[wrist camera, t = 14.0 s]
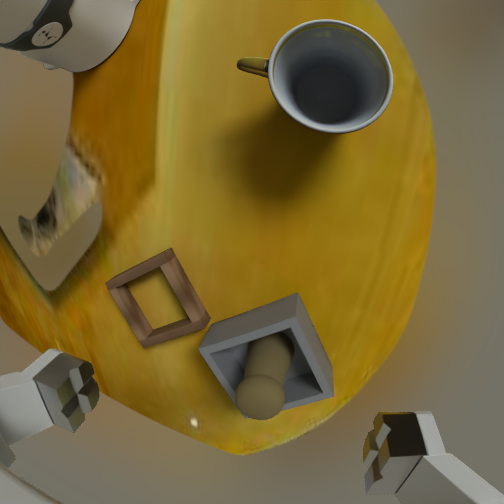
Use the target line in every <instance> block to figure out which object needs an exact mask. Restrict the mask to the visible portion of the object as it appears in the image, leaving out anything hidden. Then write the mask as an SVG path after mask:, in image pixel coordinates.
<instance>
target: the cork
mask: <svg viewBox="0 0 504 504" xmlns="http://www.w3.org/2000/svg"><path fill="white" fill-rule="evenodd" d="M294 351H295V348H294V344H293V342H292V341H291V339H290V338H289V337H288V336H287V335H285V334H284V333H282V332H276V333H273V334H270V335H267V336H264V337H261V338H258V339H255V340H252V341H249V342H248V349H247V358H246V368H245V378H244V380H242V381H241V382H240V384H239V385H238V387H237V389H236V392H235V403H236V405H237V407H238V409H239V410H240V411H241V413H242V414H244V415H245V416H247V417H249V418H252V419H257V420H266V419H270V418H272V417H274V416H275V415H277V414H278V413H279V412H280V411H281V409H282V408H283V406H284V402H285V393H284V389H283V384H284V382H285V379H286V376H287V373H288V371H289V368H290V365H291V362H292V359H293V356H294Z"/></svg>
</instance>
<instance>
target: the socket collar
mask: <svg viewBox="0 0 504 504" xmlns="http://www.w3.org/2000/svg"><path fill="white" fill-rule="evenodd" d="M157 267H161V269H162V271H163V272H164V274H165V276H166V278H167V280H168V281H169V283H170V285H171V287H172V289H173V290H174V292H175V294H176V296H177V297H178V299H179V301H180V303H181V304H182V306H183V308H184V309H185V311H186V313H187V315H188V316H189V317H188V318H185V319H182V320H180V321H177V322H174V323H171V324H168V325H166V326H163V327H160V328H157V329H154V330H153V329H152V327H151V326H150V324H149V322H148V321H147V319H146V317H145V316H144V314H143V313H142V311H141V309H140V307H139V306H138V304H137V302H136V301H135V299H134V297H133V296H132V294H131V292H130V290H129V289H128V287H127V285H126V283H127V282H129V281H131V280H133V279H135V278H137V277H139V276H141V275H143V274H145V273H147V272H149V271H151V270H153V269H155V268H157ZM105 284H106V286H107V288H108V290H109V291H110V293H111V295H112V297H113V298H114V300H115V302H116V304H117V305H118V307H119V309H120V310H121V312H122V314H123V315H124V317H125V319H126V320H127V322H128V324H129V325H130V327H131V328H132V330H133V332H134V333H135V335H136V336H137V338H138V339H139V341H140V342H141V344H142V346H143V347H144V348H145V347H149V346H152V345H155V344H158V343H161V342H164V341H167V340H170V339H173V338H177V337H180V336H183V335H186V334H189V333H192V332H195V331H198V330H200V329H203V328H205V327H206V325H207V324H208V322H209V320H210V319H211V318H210V316H209V315H208V313H207V311H206V309H205V308H204V306H203V304H202V302H201V301H200V299H199V297H198V295H197V294H196V292H195V290H194V288H193V286H192V285H191V283H190V281H189V279H188V277H187V276H186V274H185V272H184V270H183V268H182V266H181V265H180V263H179V261H178V259H177V257H176V255H175V253H174V251H173V250H172V248H169V249H167V250H165V251H163V252H161V253H159V254H157V255H155V256H153V257H151V258H150V259H148V260H146V261H144V262H142V263H140V264H138V265H136V266H134V267H132V268H130V269H128V270H126V271H124V272H122V273H120V274H118V275H117V276H115V277H113V278H112V279H110V280H109V281H107V282H106V283H105Z"/></svg>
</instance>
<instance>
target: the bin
mask: <svg viewBox="0 0 504 504" xmlns="http://www.w3.org/2000/svg"><path fill="white" fill-rule="evenodd" d="M276 332H282V333H284V334H285V335H287V336H288V337H289V338H290V339H291V341H292V342H293V344H294V348H295V351H294V356H293V359H292V362H291V365H290V368H289V371H288V373H287V376H286V379H285V382H284V384H283V389H284V393H285V402H284V406H283V408H282V409H281V411H282V410H286V409H290V408H294V407H298V406H301V405H305V404H309V403H312V402H316V401H319V400H323V399H326V398H330V397H333V396H334V387H333V370H332V365H331V363H330V361H329V358H328V356H327V354H326V352H325V350H324V347H323V345H322V343H321V341H320V339H319V337H318V334H317V332H316V330H315V328H314V326H313V324H312V321H311V319H310V317H309V315H308V313H307V311H306V308H305V306H304V304H303V302H302V300H301V298H300V296H299V294H298V293H295V294H292V295H290V296H287V297H285V298H282V299H279V300H277V301H274V302H271V303H269V304H266V305H263V306H261V307H258V308H255V309H253V310H250V311H247V312H244V313H242V314H239V315H236V316H233V317H231V318H228V319H225V320H222V321H219V322H216V323H214V324H212V325H211V327H210V329H209V331H208V332H207V334H206V336H205V338H204V339H203V341H202V343H201V345H200V346H199V348H198V350H199V351H200V353H201V354H202V356H203V357H204V359H205V360H206V362H207V364H208V365H209V367H210V368H211V370H212V371H213V373H214V374H215V376H216V377H217V379H218V380H219V382H220V383H221V385H222V386H223V388H224V389H225V391H226V392H227V394H228V395H229V396H230V398H231V399H232V401H233V402H234V404H235V405H236V403H235V392H236V389H237V387H238V385H239V384H240V382H241V381H242V380H244V378H245V368H246V358H247V349H248V342H249V341H252V340H255V339H258V338H261V337H264V336H267V335H270V334H273V333H276ZM236 407H237V405H236ZM237 408H238V407H237ZM239 411H240V410H239ZM240 412H241V411H240ZM241 414H242V413H241ZM242 415H243V416H244V418H245V419H246V418H249V417H247V416H245V415H244V414H242Z"/></svg>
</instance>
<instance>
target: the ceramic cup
mask: <svg viewBox="0 0 504 504" xmlns="http://www.w3.org/2000/svg"><path fill="white" fill-rule="evenodd" d="M237 68H238V69H240V70H242V71H245V72H248V73H252V74H256V75H260V76H263V77H266V78H268V80H269V85H270V88H271V91H272V94H273V96H274V98H275V100H276V101H277V103H278V104H279V106H280V107H281V108H282V109H283V111H284V112H285V113H286V114H287V115H288V116H290V117H291V118H292V119H293V120H295V121H296V122H298V123H299V124H301V125H303V126H305V127H307V128H309V129H312V130H315V131H318V132H323V133H328V134H344V133H350V132H354V131H358V130H360V129H363V128H365V127H366V126H368V125H370V124H371V123H373V122H374V121H375V120H376V119H377V118H379V116H380V115H381V114H382V113H383V112H384V110H385V109H386V107H387V105H388V103H389V101H390V98H391V95H392V91H393V73H392V68H391V65H390V62H389V60H388V57H387V56H386V54H385V52H384V50H383V49H382V48H381V46H380V45H379V44H378V43H377V42H376V41H375V40H374V39H373V38H372V37H371V36H370V35H369V34H367V33H366V32H365V31H363V30H361V29H360V28H358V27H356V26H354V25H351V24H348V23H345V22H342V21H337V20H327V19H323V20H313V21H309V22H305V23H303V24H300V25H298V26H296V27H294V28H292V29H291V30H289V31H288V32H287V33H286V34H284V35H283V36H282V37H281V39H280V40H279V41H278V42H277V44H276V45H275V47H274V49H273V51H272V53H271V56H270V59H265V58H260V57H247V58H242V59H240V60H239V61H238V62H237Z"/></svg>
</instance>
